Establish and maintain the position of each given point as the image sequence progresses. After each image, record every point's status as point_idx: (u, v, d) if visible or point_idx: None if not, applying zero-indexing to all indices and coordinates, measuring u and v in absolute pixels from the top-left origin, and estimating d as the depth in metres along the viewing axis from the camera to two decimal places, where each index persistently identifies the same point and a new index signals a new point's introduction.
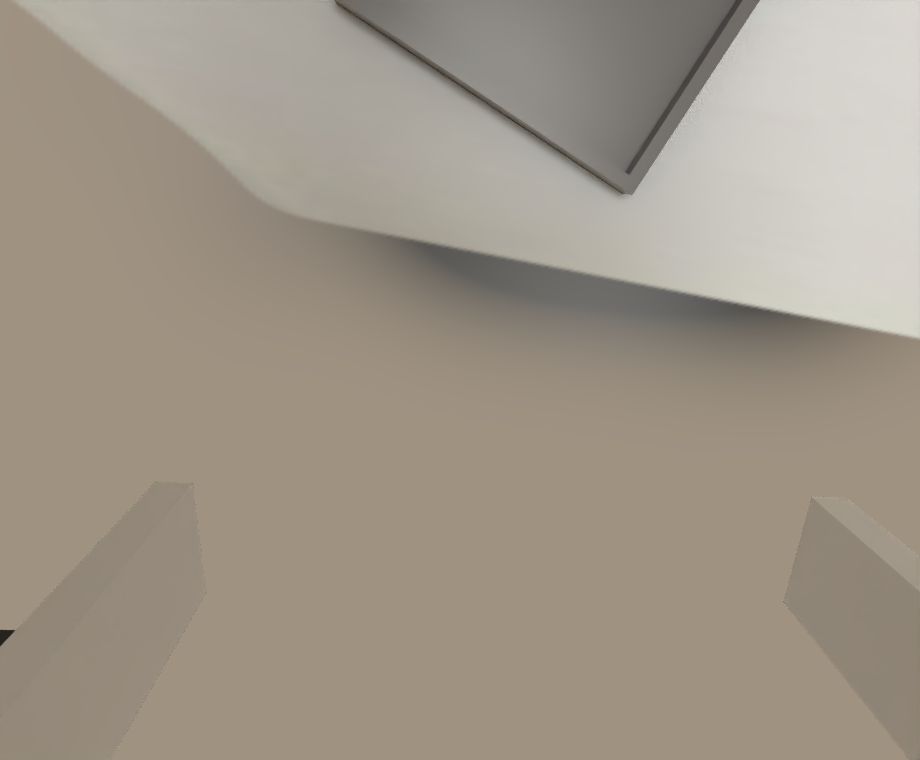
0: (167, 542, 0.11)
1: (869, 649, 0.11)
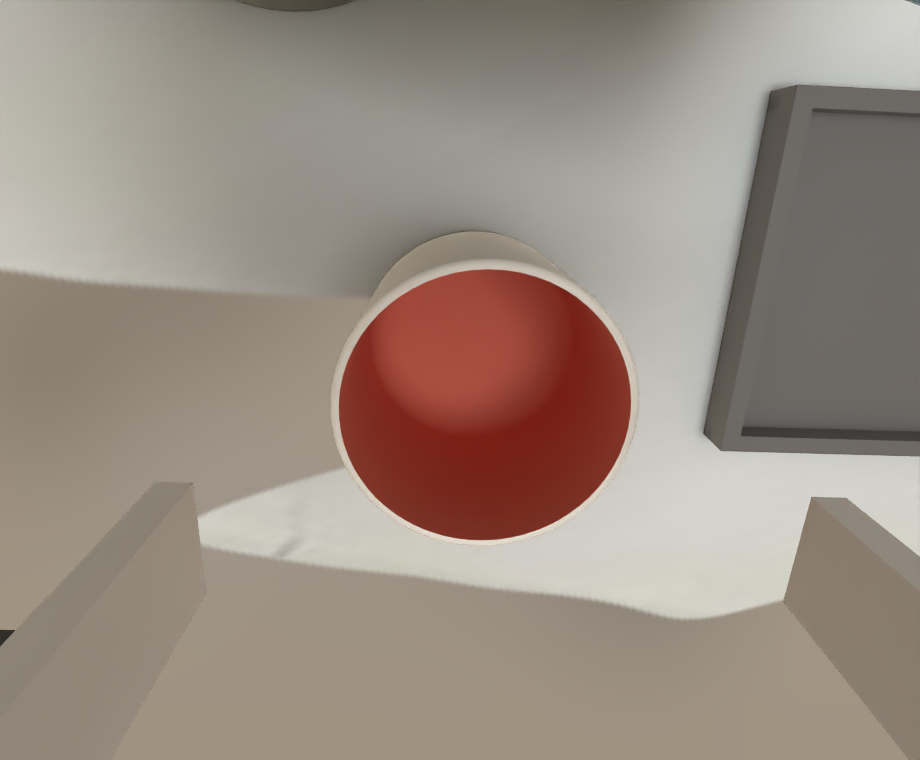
0: (167, 542, 0.11)
1: (869, 649, 0.11)
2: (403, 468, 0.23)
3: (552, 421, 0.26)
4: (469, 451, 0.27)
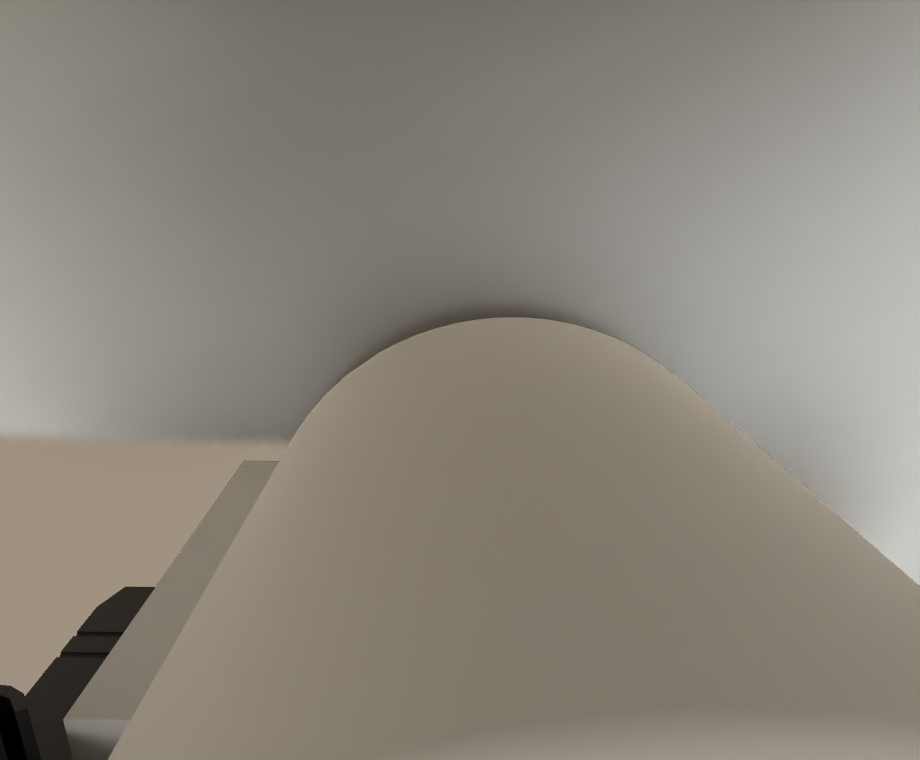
0: None
1: None
2: None
3: None
4: None
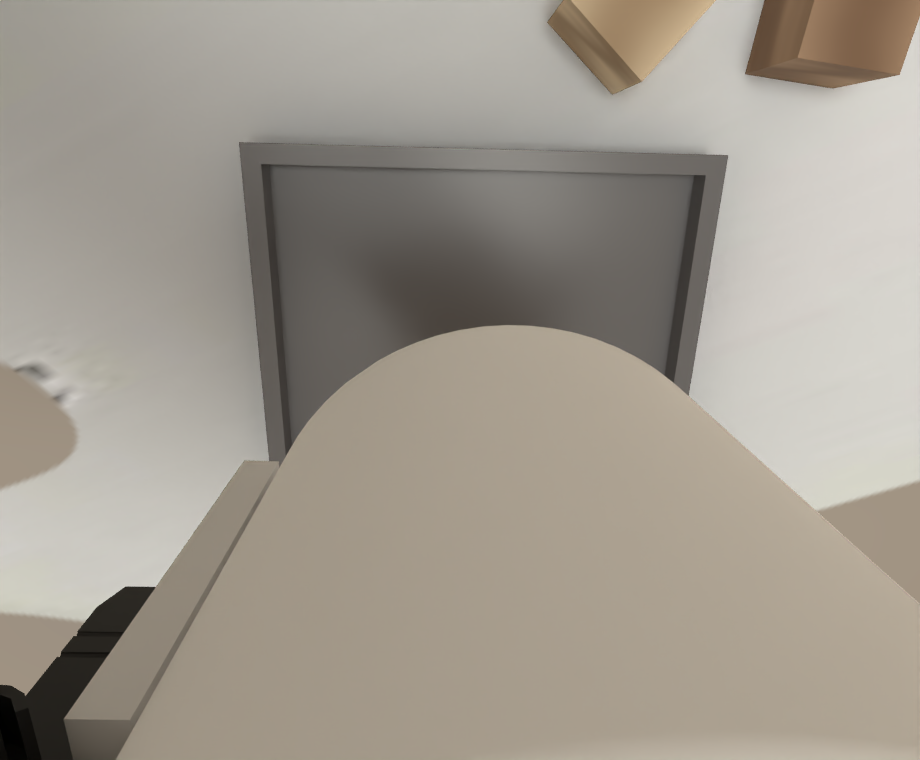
0: None
1: None
2: None
3: None
4: None
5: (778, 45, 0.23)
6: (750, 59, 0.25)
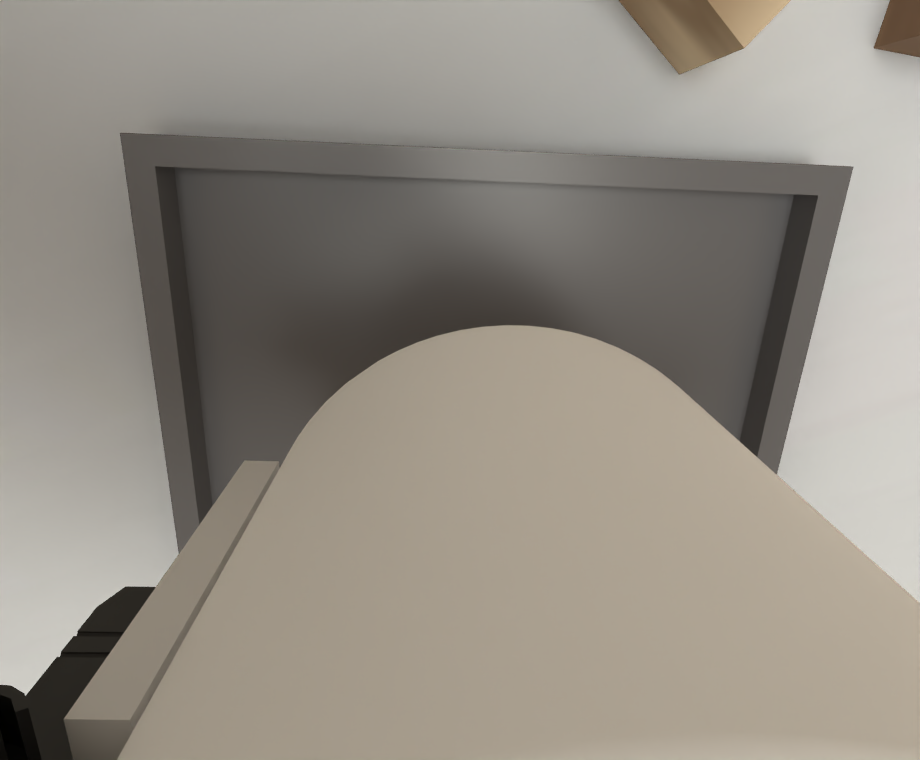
0: None
1: None
2: None
3: None
4: None
5: None
6: (882, 26, 0.17)
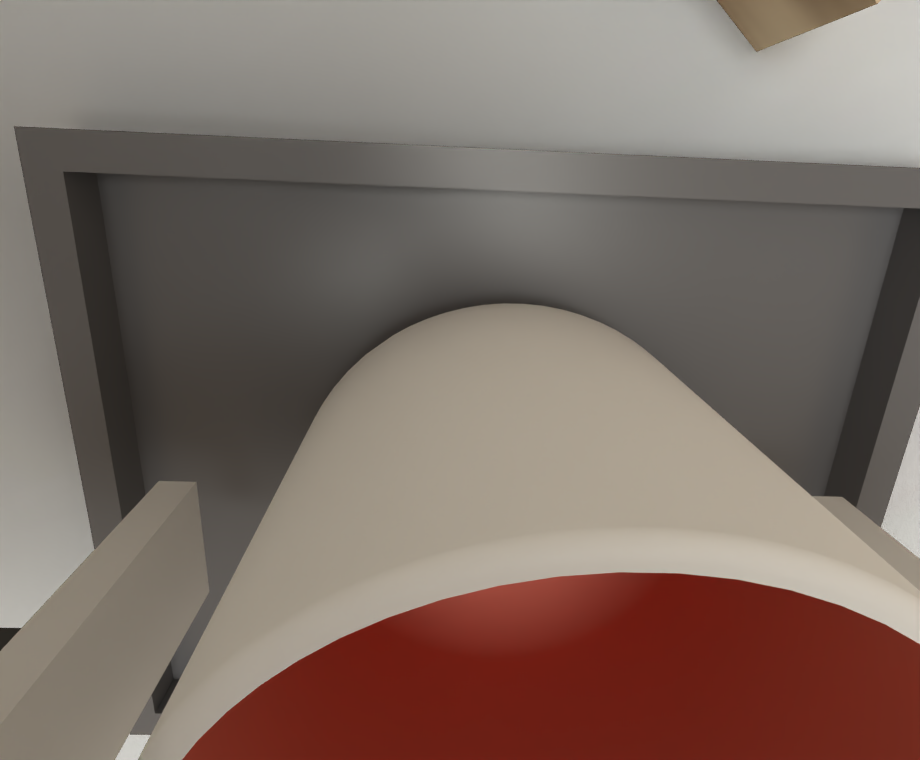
0: (171, 541, 0.11)
1: None
2: None
3: (659, 663, 0.14)
4: (498, 710, 0.14)
5: None
6: None
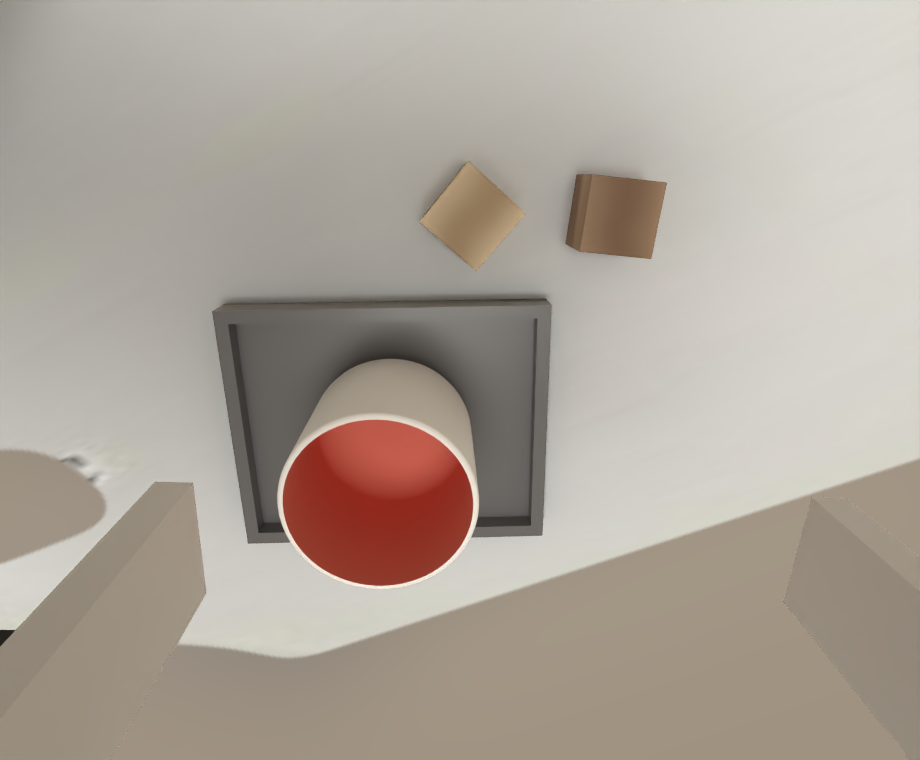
0: (167, 542, 0.11)
1: (869, 650, 0.11)
2: (339, 535, 0.33)
3: (451, 489, 0.36)
4: (394, 513, 0.37)
5: (575, 235, 0.33)
6: (568, 233, 0.36)
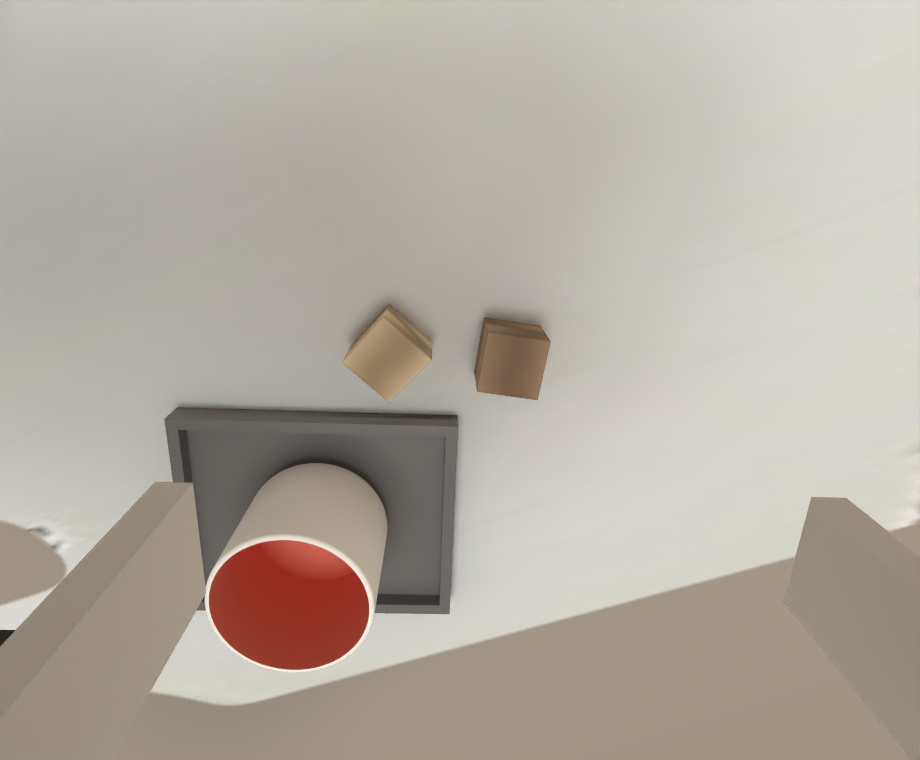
0: (167, 542, 0.11)
1: (869, 649, 0.11)
2: (263, 618, 0.39)
3: None
4: (317, 594, 0.43)
5: (477, 372, 0.39)
6: (476, 364, 0.42)
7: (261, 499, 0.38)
